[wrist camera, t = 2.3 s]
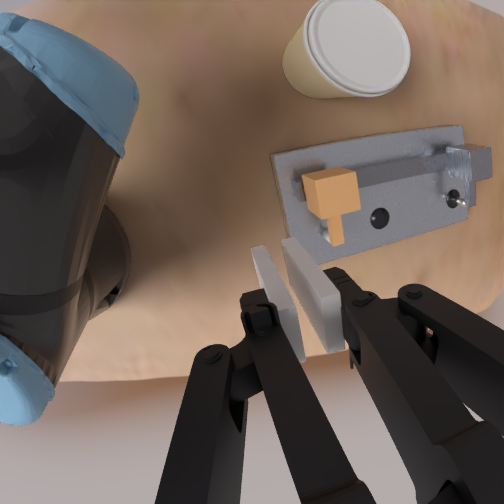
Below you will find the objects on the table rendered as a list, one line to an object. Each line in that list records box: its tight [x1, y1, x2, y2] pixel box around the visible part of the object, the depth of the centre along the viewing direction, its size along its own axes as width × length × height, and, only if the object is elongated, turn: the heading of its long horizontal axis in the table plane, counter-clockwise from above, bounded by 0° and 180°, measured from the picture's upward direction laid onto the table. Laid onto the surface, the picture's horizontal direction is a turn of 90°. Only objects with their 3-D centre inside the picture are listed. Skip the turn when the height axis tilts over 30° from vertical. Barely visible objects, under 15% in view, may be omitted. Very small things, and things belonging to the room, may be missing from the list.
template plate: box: [270, 125, 492, 265], centre depth 33 cm, size 26×13×8 cm, turn 103°
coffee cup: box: [282, 0, 411, 99], centre depth 25 cm, size 9×9×12 cm
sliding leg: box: [302, 167, 361, 246], centre depth 31 cm, size 4×8×6 cm, turn 13°
